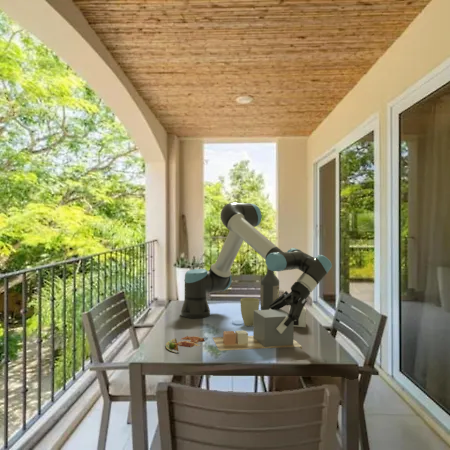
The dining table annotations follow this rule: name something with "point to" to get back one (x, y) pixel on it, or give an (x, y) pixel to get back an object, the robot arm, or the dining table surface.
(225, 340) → the terracotta block
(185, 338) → the food
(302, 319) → the container
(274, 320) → the grey matte cube
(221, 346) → the board
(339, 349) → the dining table surface
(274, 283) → the liquor
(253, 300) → the mug
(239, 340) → the white block
